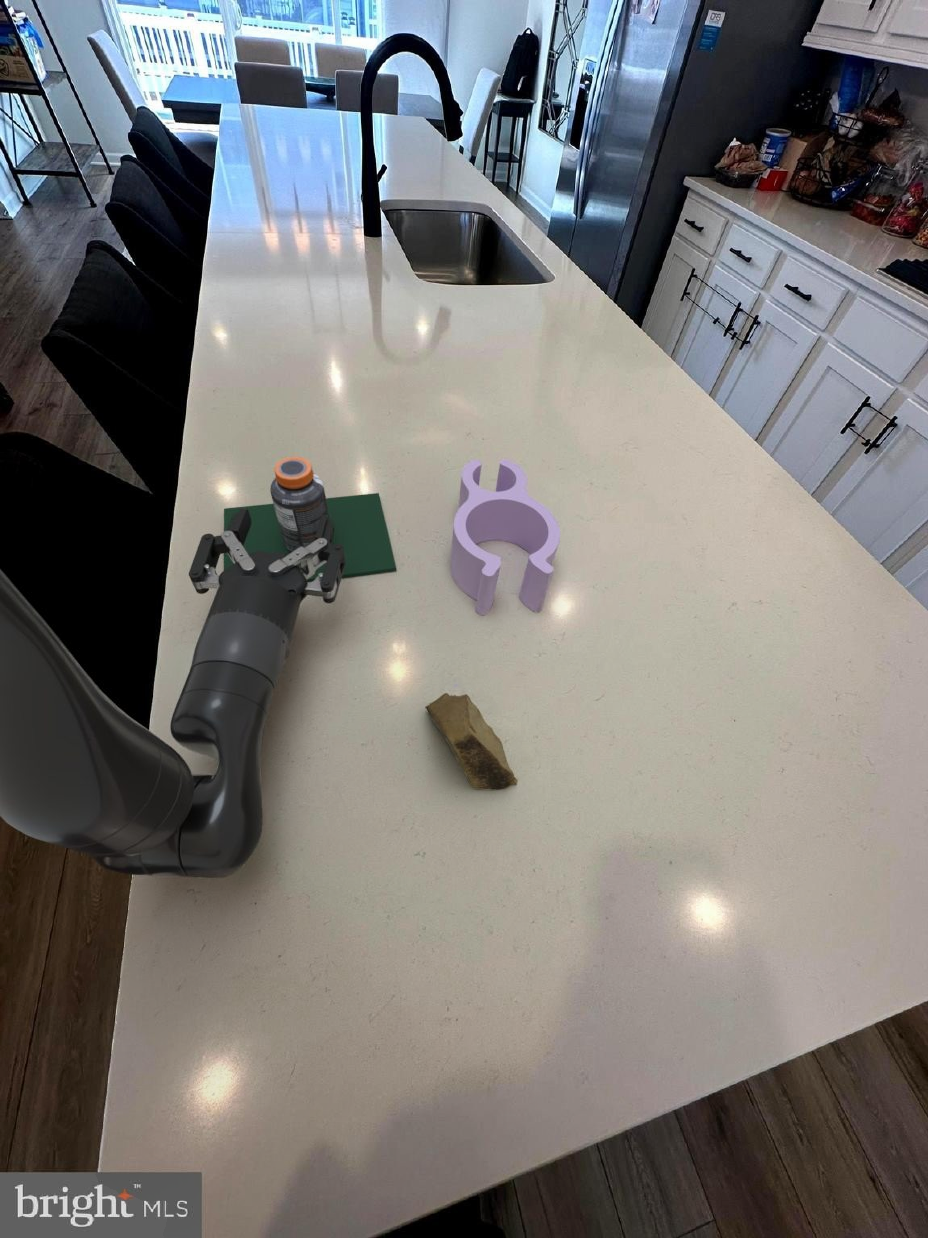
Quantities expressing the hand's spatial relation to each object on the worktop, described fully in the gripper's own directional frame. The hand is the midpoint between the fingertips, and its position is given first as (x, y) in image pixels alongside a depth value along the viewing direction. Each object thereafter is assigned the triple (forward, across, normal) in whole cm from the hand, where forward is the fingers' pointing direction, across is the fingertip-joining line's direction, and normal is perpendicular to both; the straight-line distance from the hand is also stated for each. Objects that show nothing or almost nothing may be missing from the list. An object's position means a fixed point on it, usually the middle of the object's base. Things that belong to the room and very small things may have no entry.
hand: (286, 517), depth 60 cm
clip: (+6, -24, +9) cm, 26 cm away
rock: (-21, -21, +9) cm, 31 cm away
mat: (+5, 0, +9) cm, 10 cm away
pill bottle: (+5, 0, +8) cm, 9 cm away
